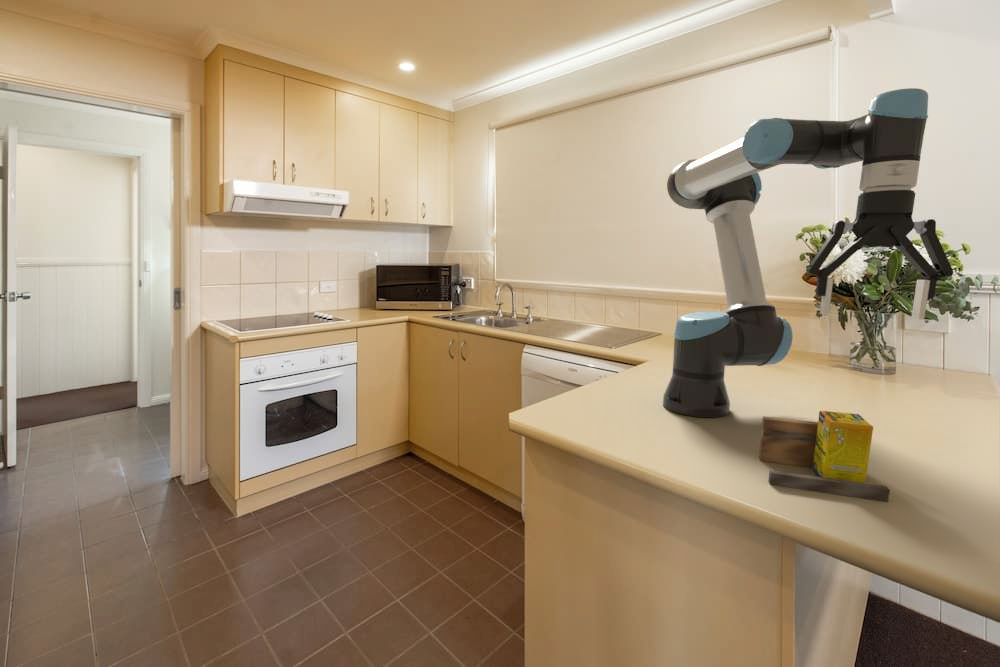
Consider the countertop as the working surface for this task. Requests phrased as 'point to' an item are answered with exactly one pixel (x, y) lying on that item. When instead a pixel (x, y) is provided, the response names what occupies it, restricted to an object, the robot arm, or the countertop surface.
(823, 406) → the countertop surface
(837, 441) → the supplement box
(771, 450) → the wooden rack
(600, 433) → the countertop surface
